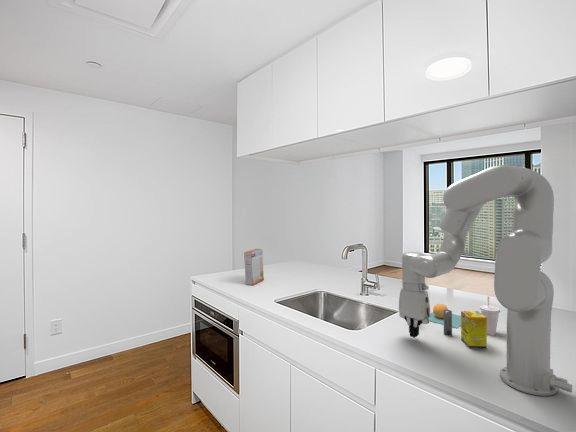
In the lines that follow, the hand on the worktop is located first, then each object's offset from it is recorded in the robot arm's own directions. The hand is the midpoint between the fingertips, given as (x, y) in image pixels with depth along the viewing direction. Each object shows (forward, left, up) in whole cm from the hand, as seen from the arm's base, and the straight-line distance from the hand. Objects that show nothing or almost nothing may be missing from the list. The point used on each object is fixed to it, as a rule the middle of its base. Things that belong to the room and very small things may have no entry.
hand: (414, 335), depth 113 cm
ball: (+2, -28, +2) cm, 28 cm away
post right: (-7, -13, -2) cm, 15 cm away
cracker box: (+110, -7, -2) cm, 110 cm away
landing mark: (0, -28, -2) cm, 28 cm away
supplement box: (-16, -11, -2) cm, 19 cm away
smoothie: (-17, -25, -2) cm, 30 cm away
